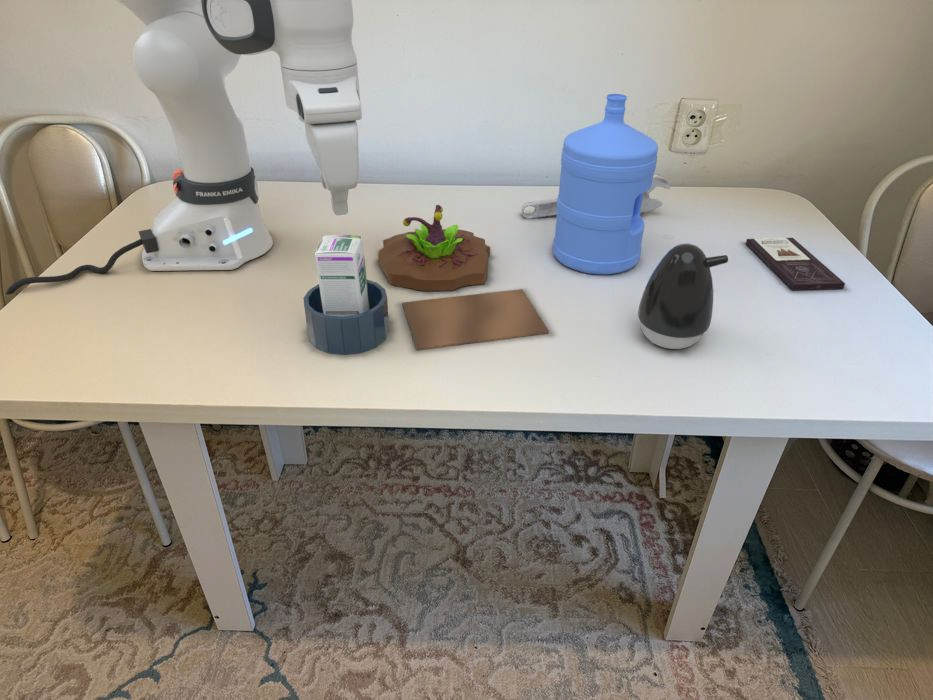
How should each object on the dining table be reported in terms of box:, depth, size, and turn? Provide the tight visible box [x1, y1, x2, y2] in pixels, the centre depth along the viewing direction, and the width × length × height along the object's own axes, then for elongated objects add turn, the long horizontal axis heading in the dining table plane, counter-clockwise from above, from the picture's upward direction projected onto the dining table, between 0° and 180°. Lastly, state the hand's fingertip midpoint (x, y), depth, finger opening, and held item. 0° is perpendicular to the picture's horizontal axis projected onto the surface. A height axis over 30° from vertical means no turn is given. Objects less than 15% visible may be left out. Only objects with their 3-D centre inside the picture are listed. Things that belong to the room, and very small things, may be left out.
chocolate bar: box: [745, 237, 846, 291], centre depth 118 cm, size 9×1×18 cm
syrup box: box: [314, 234, 370, 317], centre depth 95 cm, size 6×6×14 cm
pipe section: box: [303, 279, 390, 356], centre depth 97 cm, size 12×12×6 cm
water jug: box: [552, 93, 659, 275], centre depth 113 cm, size 16×16×28 cm
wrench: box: [521, 174, 671, 220], centre depth 134 cm, size 8×2×30 cm
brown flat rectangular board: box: [401, 288, 550, 351], centre depth 102 cm, size 20×13×1 cm, turn 104°
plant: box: [377, 204, 491, 292], centre depth 114 cm, size 20×20×11 cm
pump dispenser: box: [637, 243, 729, 350], centre depth 94 cm, size 10×10×15 cm
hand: (334, 199), depth 87 cm, fingers open, 8 cm apart
